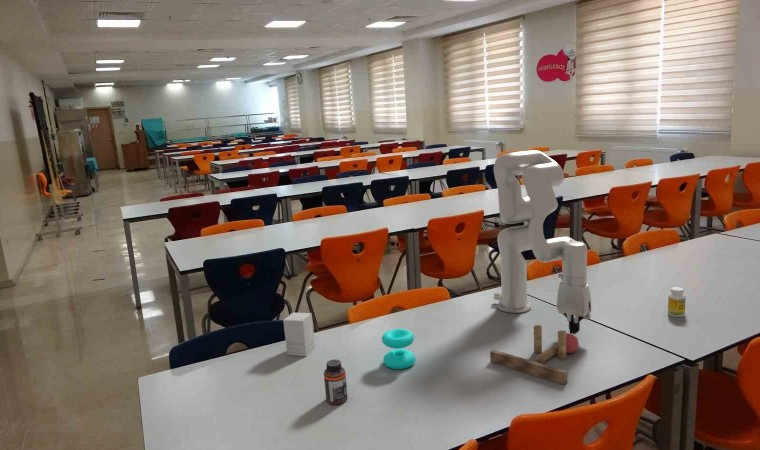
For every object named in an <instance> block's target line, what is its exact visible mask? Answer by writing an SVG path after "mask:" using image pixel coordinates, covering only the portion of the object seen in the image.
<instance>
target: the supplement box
mask: <svg viewBox="0 0 760 450" xmlns="http://www.w3.org/2000/svg"><path fill="white" fill-rule="evenodd" d="M312 314H313V313H312V312H291V313H290V314H289V315H288V316H287V317H286V318H284V319H282V323H283V330H284V336H285V337H284V338H285V348H286V353H287V354H286V355H287V356H295V357H296V356H297V357H308V356H309V354H311V353H312V352H313V351H314V350H315V348H316V344H315V343H316V342H315V334H314V332H315V331H314V323H313V315H312Z"/></svg>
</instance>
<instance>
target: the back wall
mask: <svg viewBox="0 0 760 450" xmlns="http://www.w3.org/2000/svg"><path fill="white" fill-rule="evenodd" d="M489 355H490V356H489V359H490V361H489V362H490V363H492V364H496V365H499V366H502V367H505V368H509V369H512V370H515V371H519V372H521V373H526V374H528V375H532V376H534V377H537V378H541V379H545V380H547V381H551V382H554V383H558V384H561V385H566V384H567V383H568V370H565V369H561V368H557V367H554V366H552V365H548V364H544V363H538V362H537V361H533V360H530V359H527V358H523V357H520V356H515V355H513V354H511V353H510V354H509V353H506V352H502V351H499V350H496V349H491V350H490V352H489Z"/></svg>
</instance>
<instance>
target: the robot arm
mask: <svg viewBox="0 0 760 450" xmlns="http://www.w3.org/2000/svg"><path fill="white" fill-rule="evenodd" d="M493 174H494V179H495V182H496V186H497V196H498V209H499V210H498V211H499V217H500V220H501V222H502V223H504V224H508V225H510V224H511V225H512V224H519V223H523V225H515V226H510V227H507V228H504V229H502V230H500V231H499V233H498V234H497V246H498V250H499V257H500V259H499V260H500V275H501V277H500V278H501V280H500V282H501V293H498V292H494V294H493V300H497V301H498V303H497V309H498V310H500V311H502V312H504V313H510V314H511V313H512V314H521V313H526V312H529V311H530V310H531V309H532V304H531V302H530V301H528V278H527V277H528V276H527V275H528V273H527V272H528V271H527V261H526V259H525V257H524V256H523V254H522V252H525V251H530V250H532V254H533V255H534V257H535V258H536V260H537V261H539V262H541V263H551V262H555V261H561V263H562V264H561V267H562V268H561V273H559V274H558V278H560V279H561V281H560V282H559V284H558V289H557V296H556V299H557V300H556V309H557V312H558V313H559V314H561V315H563V316H564V317H565V318H566V321H567V322H568V330H569V334H572V335H577V333H579V332H580V328H581V327H580V326H581V325H580V322H581V321H582V320H590V319H591V318H592V314H591V312H592V297H591V296H592V295H591V288H590V285H589V284H588V283H587V281H588V280H587V279H588V247H587V244H586V243H585V242H583V241H577V240H575V239H573V238H572V237H569V236H559V237H552V238H547V239H546V238H545V235H544V222H545V219H546V218H547V216H549V215H550V214H551V213H553V212H555V211H556V210H557V208H558V207H559V203H558V200H557V196H556V195H555V191H554V187H558V186H561V184H563V181H564V179H565V174H564V170H563V169H562V167H561V165H560V164H559V163H558V162H556V161H555V160H554V159H552V158H551V157H549V156H548V155H547V154H545V153H543V152H542V151H539V150H536V149H534V150H532V149H531V150H523V151H514V152H507V153H503V154H501V155H499V156H498V157H497V158H495V161H494V164H493ZM516 176H522V181H523V185H524V187H525V190H526V193H527V195H526V196H523V194H522V185H521V183H520V182H519V180H518V178H516Z"/></svg>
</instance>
